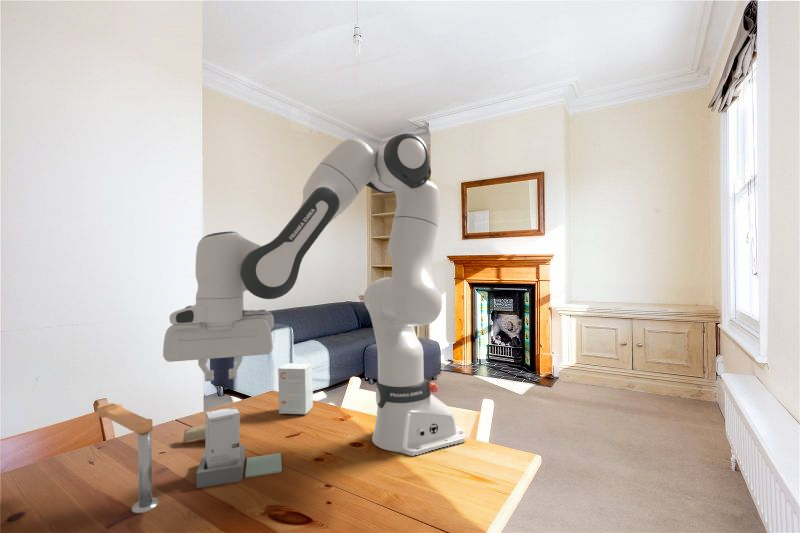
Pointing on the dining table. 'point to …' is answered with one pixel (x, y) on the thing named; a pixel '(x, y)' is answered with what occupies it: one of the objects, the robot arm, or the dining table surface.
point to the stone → (194, 433)
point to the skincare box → (222, 438)
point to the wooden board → (125, 418)
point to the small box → (295, 388)
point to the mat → (263, 465)
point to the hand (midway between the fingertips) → (221, 379)
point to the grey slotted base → (220, 472)
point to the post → (145, 475)
